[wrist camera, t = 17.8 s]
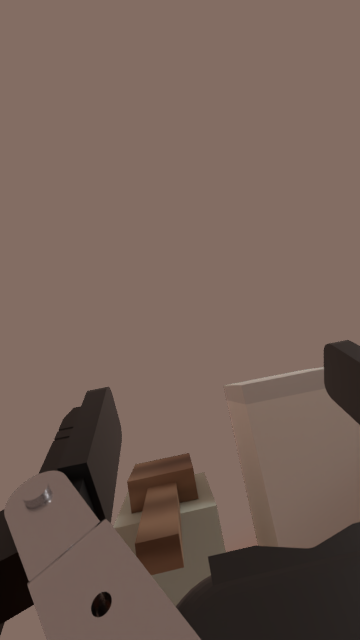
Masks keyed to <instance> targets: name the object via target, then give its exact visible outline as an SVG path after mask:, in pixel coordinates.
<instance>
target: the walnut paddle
mask: <svg viewBox="0 0 360 640" xmlns="http://www.w3.org/2000/svg"><path fill="white" fill-rule="evenodd" d="M127 483H128V491H129V498H130V505H131V513H136V512H141V511H142V515H141V519H140V523H139V527H138V532H137V536H136V540H135V550H136V557H137V558H138V559H139V561H140V562H141V563H142V564H143V566H144V567H145V568H146V569H147V571H148V572H149V573H150V575H155V574H159V573H163V572H167V571H171V570H176V569H180V568H184V558H183V544H182V529H181V515H180V503H181V502H186V501H190V500H195V499H199V498H198V493H197V487H196V482H195V476H194V471H193V466H192V463H191V459H190V455H189V453H187V454H182V455H178V456H173V457H169V458H164V459H159V460H154V461H150V462H145V463H140V464H136V465H135V467H134V469H133V471H132V473H131V475H130V477H129V479H128V482H127Z"/></svg>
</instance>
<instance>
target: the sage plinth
mask: <svg viewBox="0 0 360 640" xmlns="http://www.w3.org/2000/svg"><path fill="white" fill-rule="evenodd" d="M194 476H195V482H196V487H197V493H198V498H199V499H195V500H190V501H186V502H181V503H180V515H181V529H182V544H183V558H184V568H180V569H176V570H171V571H167V572H163V573H159V574H155V575H151V576H152V577H153V578H154V580H155V581H156V582H157V584H158V585H159V586H160V587H161V589H162V590H163V591H164V593H165V594H166V595H167V596H168V598H169V599H170V600H171V602H172V603H173V604H174V605H175V607H176V605H177V604H178V603H179V601H180V600H181V599H182V598H183V597H184V596H185V595H186V594H187V593H188V592H189V591H190V590H191V589H192V588H193V587H194V586H196V585H197V584H198V583H199V582H201V581H202V580H204V579H205V578H207V577H208V576H210V575H211V572H210V566H209V561H208V556H213V555H217V554H221V553H226V551H225V547H224V541H223V536H222V531H221V526H220V521H219V516H218V511H217V505H216V503H215V500H214V497H213V495H212V492H211V490H210V487H209V484H208V481H207V479H206V476H205V474H204V473H199V474H195V475H194ZM141 515H142V511H141V512H136V513H131V505H130V498H129V491H128V493H127V496H126V498H125V500H124V503H123V505H122V507H121V510H120V512H119V515H118V517H117V519H116V522H115V524H114V526H113V527H114V528H115V530H116V531H117V532H118V534H119V535H120V536H121V537H122V539H123V540H124V541H125V543H126V544H127V545H128V546H129V548H130V549H131V550H132V552H133V553H134V554H135V555H136V550H135V540H136V536H137V532H138V527H139V523H140V519H141Z"/></svg>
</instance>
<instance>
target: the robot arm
mask: <svg viewBox="0 0 360 640" xmlns="http://www.w3.org/2000/svg"><path fill="white" fill-rule="evenodd" d="M324 385H325V388H326V391H327V393H328V395H329V396H330V398H331V399H332V400H333V401H335V402H336V403H337V404H338V405H339V406H340V407H341V408H342V409H343V410H344V411H345V412H346V413H347V414H348V415H350V416H351V417H352V418H353V419H354V420H355V421H356V422H357V423H358V424H359V425H360V346H358V345H357V344H355V343H353V342H351V341H349V340H345V341H340V342H335V343H330V344H327V345H325V348H324ZM121 441H122V434H121V425H120V421H119V418H118V414H117V410H116V407H115V403H114V399H113V396H112V392H111V390H110V388H109V387H105V388H100V389H95V390H90V391H87V393H86V395H85V398H84V400H83V403H82V406H81V407H76V408H73V409H72V410H71V412H69V414H68V415H67V416H66V417H65V418H64V419H63V421H62V423H61V425H60V428H59V432H57V434H56V437H55V441H53V443H52V445H51V447H50V450H49V452H48V454H47V456H46V459H45V461H44V463H43V465H42V467H41V470H40V472H39V474H38V475H36V476H34V477H32V478H30V479H28V480H27V481H25V482H24V483H23V484H22V485H20V487H18V488H17V489H16V490H15V491H14V493H13V494H12V495H11V496H10V498H9V500H8V501H7V503H6V506H5V509H4V510H2V511H0V635H1V632H2V628H3V625H4V622H5V621H7V620H9V619H10V618H12V617H14V616H15V615H17V614H19V613H21V612H22V611H24V610H26V609H27V608H29V607H31V606H32V605H35V608H36V611H37V613H38V616H39V619H40V622H41V625H42V627H43V630H44V633H45V636H46V639H47V640H360V522H357V523H353V524H351V525H350V526H348V527H346V528H345V529H343V530H341V531H340V532H338V533H337V534H335V535H333V536H332V537H330V538H328V539H327V540H325V541H323V542H322V543H320V544H319V545H317V546H315V547H313V548H289V547H271V546H252V547H248V548H243V549H239V550H235V551H230V552H226V553H221V554H217V555H213V556H208V561H209V566H210V572H211V575H210V576H208V577H207V578H205V579H204V580H202V581H201V582H199V583H198V584H197V585H196V586H194V587H193V588H192V589H191V590H190V591H189V592H188V593H187V594H186V595H185V596H184V597H183V598H182V599H181V600H180V601H179V603H178V604H177V605H176V607H175V605H174V604H173V603H172V602H171V600H170V599H169V598H168V596H167V595H166V594H165V593H164V591H163V590H162V589H161V587H160V586H159V585H158V584H157V582H156V581H155V580H154V578H153V577H152V576H151V575H150V573H149V572H148V571H147V569H146V568H145V567H144V566H143V564H142V563H141V562H140V561H139V559H138V558H137V557H136V555H135V554H134V553H133V552H132V550H131V549H130V548H129V546H128V545H127V544H126V543H125V541H124V540H123V539H122V537H121V536H120V535H119V534H118V532H117V531H116V530H115V528H114V527H113V526H112V525H111V517H112V509H113V501H114V493H115V487H116V479H117V471H118V464H119V456H120V449H121Z"/></svg>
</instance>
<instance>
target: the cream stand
mask: <svg viewBox="0 0 360 640" xmlns="http://www.w3.org/2000/svg"><path fill="white" fill-rule="evenodd" d="M224 390H225V396H226V400H227V404H228V409H229V414H230V419H231V423H232V428H233V432H234V437H235V442H236V446H237V451H238V455H239V460H240V464H241V469H242V474H243V478H244V483H245V487H246V492H247V497H248V501H249V506H250V510H251V515H252V519H253V524H254V528H255V533H256V538H257V542H258V546H271V547H289V548H313V547H315V546H317V545H319V544H320V543H322V542H323V541H325V540H327V539H328V538H330V537H332V536H333V535H335V534H337V533H338V532H340V531H341V530H343V529H345V528H346V527H348V526H350V525H351V524H353V523H357V522H360V425H359V424H358V423H357V422H356V421H355V420H354V419H353V418H352V417H351V416H350V415H348V414H347V413H346V412H345V411H344V410H343V409H342V408H341V407H340V406H339V405H338V404H337V403H336V402H335V401H333V400H332V399H331V398H330V396H329V395H328V393H327V391H326V388H325V385H324V367H322V368H314V369H306V370H300V371H295V372H291V373H286V374H280V375H275V376H270V377H265V378H260V379H255V380H250V381H245V382H240V383H234V384H229V385H224Z"/></svg>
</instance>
